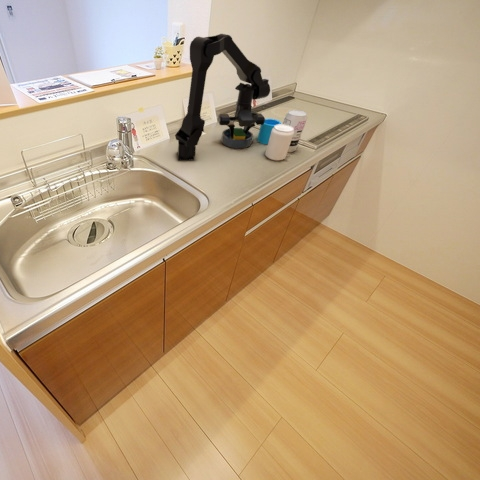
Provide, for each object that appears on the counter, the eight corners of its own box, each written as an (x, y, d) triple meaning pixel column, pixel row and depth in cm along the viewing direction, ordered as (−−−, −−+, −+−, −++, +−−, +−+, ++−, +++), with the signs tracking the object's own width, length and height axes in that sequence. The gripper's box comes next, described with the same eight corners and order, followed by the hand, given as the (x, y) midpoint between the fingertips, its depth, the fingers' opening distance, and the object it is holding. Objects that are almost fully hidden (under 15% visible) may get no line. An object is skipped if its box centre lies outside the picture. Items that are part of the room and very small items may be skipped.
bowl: (224, 149, 118) (225, 140, 115) (218, 136, 127) (219, 128, 125) (254, 149, 118) (256, 140, 115) (246, 136, 128) (248, 127, 125)
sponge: (243, 144, 119) (245, 134, 116) (233, 144, 119) (235, 134, 116) (239, 137, 124) (241, 128, 121) (230, 138, 124) (231, 128, 121)
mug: (268, 145, 120) (273, 127, 115) (253, 139, 125) (257, 121, 119) (284, 139, 125) (290, 120, 120) (269, 133, 130) (274, 115, 125)
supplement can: (279, 143, 122) (290, 107, 112) (298, 148, 118) (311, 112, 108) (272, 149, 118) (283, 113, 107) (291, 155, 114) (304, 118, 104)
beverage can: (289, 159, 111) (299, 130, 103) (273, 163, 109) (282, 133, 101) (276, 151, 117) (285, 122, 108) (260, 154, 115) (268, 125, 106)
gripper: (225, 108, 104) (219, 147, 115) (273, 107, 105) (263, 146, 115) (220, 99, 112) (215, 136, 123) (265, 98, 113) (256, 135, 123)
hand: (237, 139), depth 121 cm, fingers closed on sponge, 4 cm apart
